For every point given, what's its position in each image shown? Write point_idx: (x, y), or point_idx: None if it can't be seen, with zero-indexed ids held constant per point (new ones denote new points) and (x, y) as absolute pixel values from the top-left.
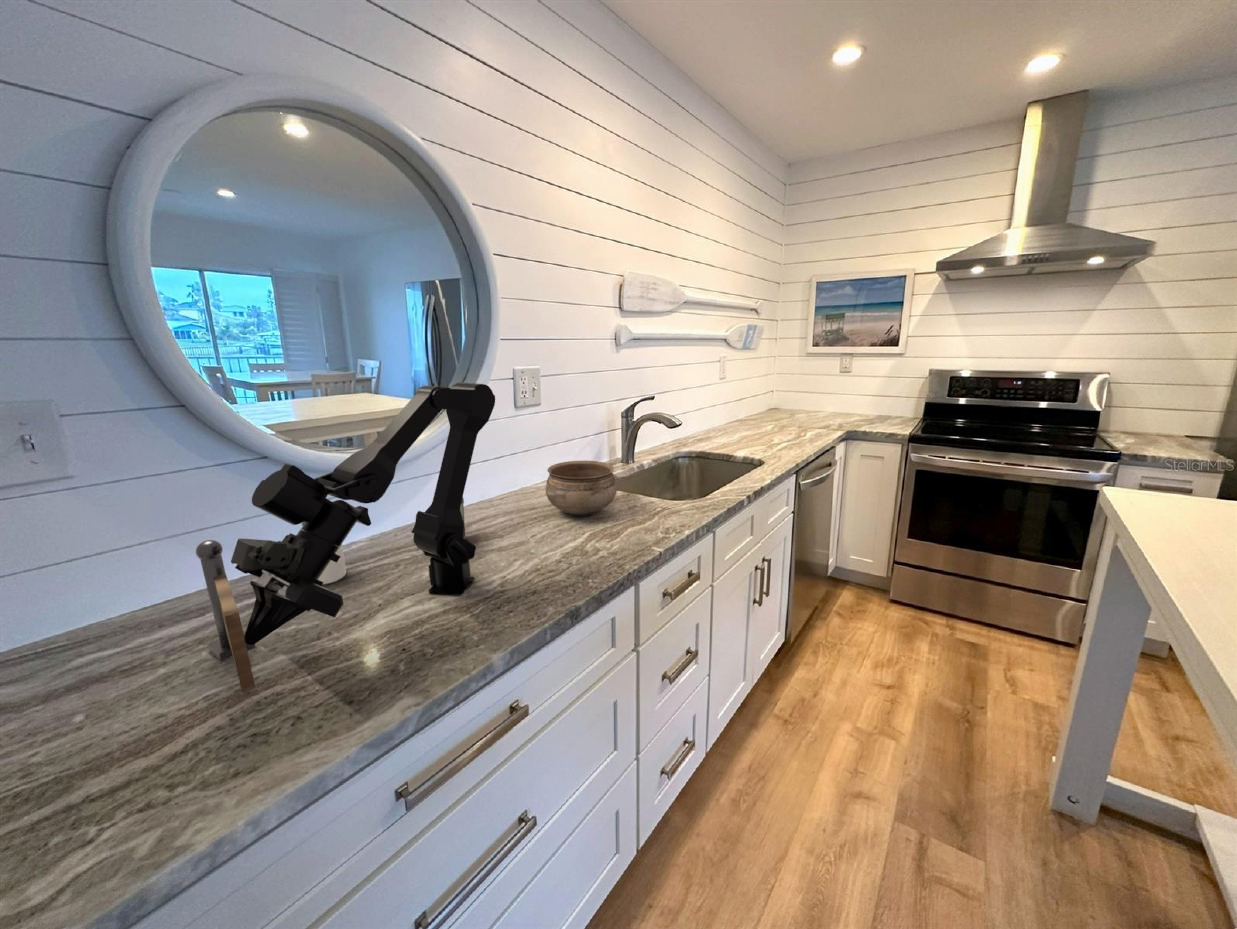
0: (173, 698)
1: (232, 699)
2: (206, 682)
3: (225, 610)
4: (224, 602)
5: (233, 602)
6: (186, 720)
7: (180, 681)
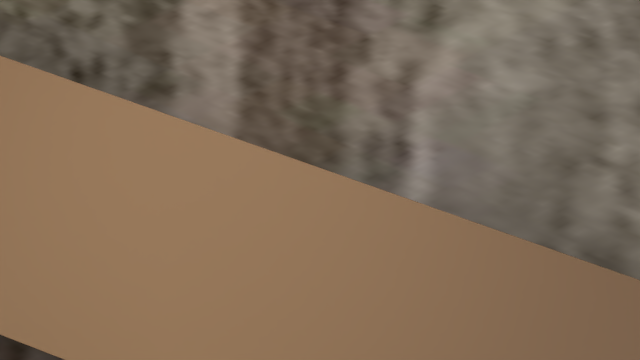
0: (510, 84)
1: None
2: (509, 197)
3: None
4: (284, 227)
5: (87, 329)
6: (316, 51)
7: (618, 147)
